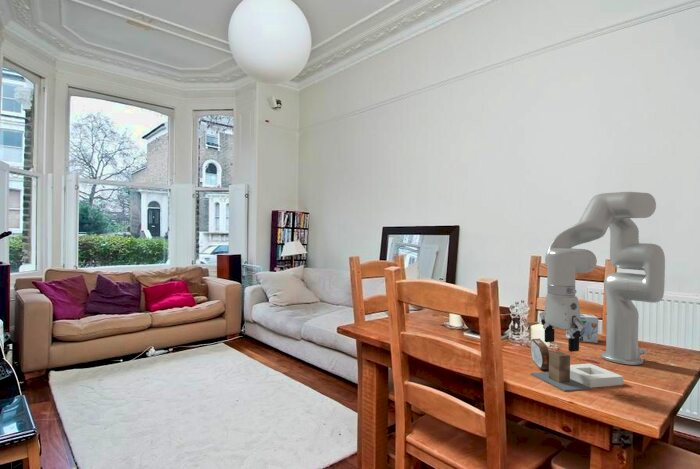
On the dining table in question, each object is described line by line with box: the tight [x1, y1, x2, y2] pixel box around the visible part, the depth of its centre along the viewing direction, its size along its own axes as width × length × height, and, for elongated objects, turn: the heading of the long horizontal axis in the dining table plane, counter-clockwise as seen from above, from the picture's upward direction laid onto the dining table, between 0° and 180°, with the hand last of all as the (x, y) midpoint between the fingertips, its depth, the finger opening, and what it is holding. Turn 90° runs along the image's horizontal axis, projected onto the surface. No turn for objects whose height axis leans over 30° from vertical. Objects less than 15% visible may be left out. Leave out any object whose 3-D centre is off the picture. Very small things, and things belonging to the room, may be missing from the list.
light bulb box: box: [565, 313, 599, 344], centre depth 169 cm, size 11×7×11 cm, turn 81°
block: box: [548, 350, 571, 383], centre depth 119 cm, size 4×4×8 cm
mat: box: [530, 371, 591, 393], centre depth 119 cm, size 9×14×1 cm, turn 14°
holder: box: [570, 363, 624, 389], centre depth 122 cm, size 12×12×2 cm
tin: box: [530, 338, 550, 371], centre depth 134 cm, size 15×3×8 cm, turn 168°
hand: (561, 346), depth 119 cm, fingers open, 9 cm apart
